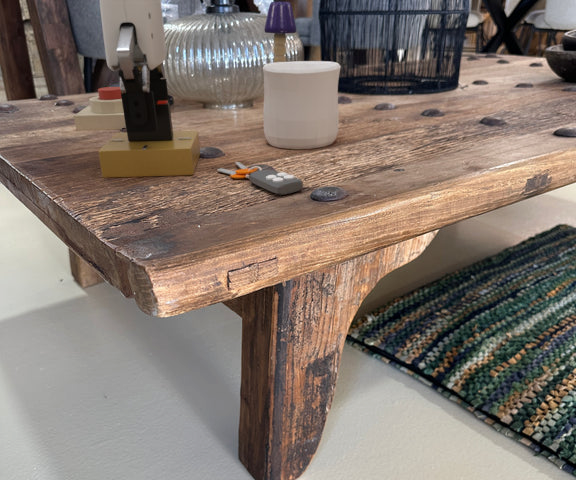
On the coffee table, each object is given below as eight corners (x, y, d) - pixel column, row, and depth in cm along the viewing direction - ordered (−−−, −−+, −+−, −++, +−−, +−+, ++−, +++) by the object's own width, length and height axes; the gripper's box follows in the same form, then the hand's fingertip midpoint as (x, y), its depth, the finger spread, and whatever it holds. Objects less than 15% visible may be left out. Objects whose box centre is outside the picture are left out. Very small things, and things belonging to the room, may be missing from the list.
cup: (251, 140, 78) (247, 64, 73) (311, 130, 83) (311, 58, 78) (288, 154, 71) (287, 71, 66) (351, 142, 76) (354, 64, 71)
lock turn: (128, 141, 65) (122, 103, 63) (130, 138, 66) (125, 101, 64) (172, 140, 65) (167, 102, 63) (173, 137, 67) (169, 100, 65)
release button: (97, 102, 86) (95, 90, 85) (102, 98, 89) (101, 87, 88) (121, 102, 86) (119, 90, 85) (126, 98, 89) (124, 86, 88)
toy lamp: (276, 117, 92) (273, 1, 84) (302, 119, 90) (301, 1, 82) (261, 122, 88) (256, 2, 81) (287, 125, 86) (285, 1, 79)
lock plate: (102, 178, 63) (97, 149, 62) (120, 156, 71) (116, 131, 70) (193, 175, 63) (190, 147, 62) (200, 154, 72) (198, 128, 70)
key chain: (307, 190, 58) (307, 176, 57) (277, 198, 56) (277, 183, 55) (237, 164, 67) (237, 151, 66) (210, 170, 65) (209, 157, 64)
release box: (76, 130, 85) (71, 103, 84) (90, 120, 92) (85, 94, 91) (143, 128, 86) (139, 101, 84) (152, 118, 93) (148, 92, 91)
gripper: (109, -46, 65) (131, 109, 72) (62, -59, 49) (98, 140, 57) (175, -48, 65) (190, 107, 73) (150, -61, 49) (173, 138, 57)
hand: (150, 122), depth 65 cm, fingers open, 9 cm apart
